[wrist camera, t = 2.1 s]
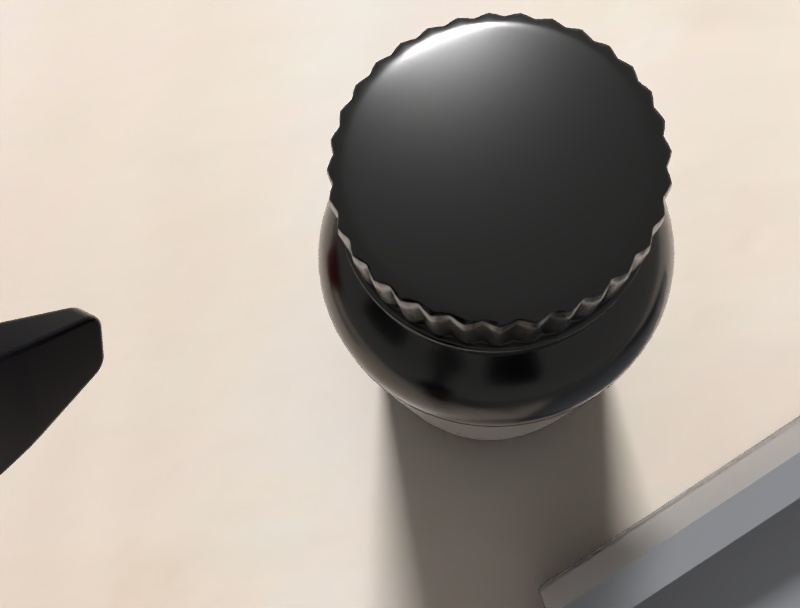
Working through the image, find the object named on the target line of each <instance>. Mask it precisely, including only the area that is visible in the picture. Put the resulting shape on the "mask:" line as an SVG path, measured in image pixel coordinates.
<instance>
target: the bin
mask: <svg viewBox="0 0 800 608" xmlns="http://www.w3.org/2000/svg"><path fill="white" fill-rule="evenodd" d="M538 588H539V591H540V594H541V596H542V599H543V602H544V604H545V607H546V608H800V416H799V417H798V418H796V419H795V420H793V421H791V422H790V423H788V424H787V425H785V426H784V427H782V428H781V429H779V430H778V431H776V432H775V433H773V434H772V435H770V436H769V437H767V438H766V439H764V440H763V441H761V442H759V443H758V444H756V445H755V446H753V447H752V448H750V449H749V450H747V451H746V452H744V453H743V454H741V455H740V456H738V457H737V458H735V459H734V460H732V461H731V462H729V463H727V464H726V465H724V466H723V467H721V468H720V469H718V470H717V471H715V472H714V473H712V474H711V475H709V476H708V477H706V478H705V479H703V480H702V481H700V482H698V483H697V484H695V485H694V486H692V487H691V488H689V489H688V490H686V491H685V492H683V493H682V494H680V495H679V496H677V497H676V498H674V499H673V500H671V501H670V502H668V503H666V504H665V505H663V506H662V507H660V508H659V509H657V510H656V511H654V512H653V513H651V514H650V515H648V516H647V517H645V518H644V519H642V520H641V521H639V522H638V523H636V524H634V525H633V526H631V527H630V528H628V529H627V530H625V531H624V532H622V533H621V534H619V535H618V536H616V537H615V538H613V539H612V540H610V541H609V542H607V543H606V544H604V545H602V546H601V547H599V548H598V549H596V550H595V551H593V552H592V553H590V554H589V555H587V556H586V557H584V558H583V559H581V560H580V561H578V562H577V563H575V564H573V565H572V566H570V567H569V568H567V569H566V570H564V571H563V572H561V573H560V574H558V575H557V576H555V577H554V578H552V579H551V580H549V581H548V582H546V583H545V584H543V585H541V586H540V587H538Z"/></svg>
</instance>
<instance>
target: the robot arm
mask: <svg viewBox="0 0 800 608" xmlns="http://www.w3.org/2000/svg"><path fill="white" fill-rule="evenodd" d="M103 358H104V354H103V342H102V330H101V323H100V321H99V319H98V318H97V317H95V316H93V315H91V314H89V313H87V312H85V311H83V310H81V309H78V308H67V309H62V310H57V311H53V312H48V313H43V314H39V315H34V316H29V317H25V318H20V319H15V320H11V321H6V322H1V323H0V475H1V474H2V473H3V472H4V471H5V470H6V469H7V468H9V467H10V466H11V465H12V464H13V463H14V462H15V461H16V460H17V459H18V458H19V457H20V456H21V455H22V454H23V453H24V452H25V451H27V450H28V449H29V448H30V447H31V446H32V445H33V443H34V442H35V441H36V440H37V439H38V438H39V437H40V436H41V435H42V434H43V433H44V432H45V431H46V429H47V428H48V427H49V426H50V425H51V424H52V423H53V422H54V420H55V419H56V418H57V417H58V416H59V415H60V414H61V413H62V411H63V410H64V409H65V408H66V407H67V406H68V405H69V404H70V403H71V401H72V400H73V399H74V398H75V397H76V396H77V395H78V394H79V392H80V391H81V390H82V389H83V388H84V387H85V386H86V385H87V383H88V382H89V381H90V380H91V379H92V378H93V377H94V376H95V374H96V373H97V372H98V370H99V369H100V367H101V365H102V363H103Z"/></svg>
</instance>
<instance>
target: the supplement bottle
mask: <svg viewBox="0 0 800 608" xmlns="http://www.w3.org/2000/svg"><path fill="white" fill-rule="evenodd" d="M664 129H665V120H664V119H663V117H662V116H661V115H660V113H659V112H658V111H657V110H656V109H655V108H654V104H653V96H652V92H651V91H650V90H649V89H648V88H647V87H646V86H644V85H642V84H641V83H640V82H639V81H638V78H637V75H636V73H635V70H634V68H633V66H631V65H629V64H627V63H626V62H624V61H622V60H620V59H618V58H617V56H616V55H615V53H614V52H613V50H612V49H611V47H610V46H608V45H606V44H603V43H599V42H596V41H593V40H592V39H591V38H590V37H589V36H588V35H587V34H586V33H585V32H584V31H583V30H581V29H575V28H566V27H564V26H563V25H561V24H560V23H558V22H557V21H555V20H553V19H534V18H531V17H529V16H527V15H524V14H522V13H519V14H513V15H508V16H501V15H497V14H492V13H487V14H484V15H482V16H480V17H477V18H475V19H469V18H457V19H455V20H453V21H451V22H450V23H449V24H447V25H446V26H442V27H434V28H428V29H426V30H425V31H424V32H423V33H422V34H421V35H420V36H419V37H418V38H416V39H413V40H409V41H406V42H403V43H400V44H399V46H398V47H397V48H396V49H395V50H394V52H393V53H392V55H390V56H388V57H386V58H384V59H382V60H380V61H378V62H376V64H375V65H374V67H373V69H372V72H371V74H370V75H369V76H368V77H366V78H365V79H363V80H362V81H361V82H359V83H358V84H357V85H356V86H355V89H354V92H353V97H352V100H351V101H350V102H349V103H348V104H347V105H345V107H344V108H343V109H342V110H341V111H340V127H339V128H338V130H337V131H336V132H335V133H334V135H333V137H332V139H331V147H332V153H333V156H332V158H331V160H330V163H329V166H328V168H327V174H328V177H329V180H330V182H331V185H332V189H331V191H330V198H329V201H328V203H327V206H326V210H325V213H324V217H323V220H322V226H321V231H320V239H319V274H320V282H321V288H322V292H323V296H324V301H325V304H326V307H327V310H328V313H329V316H330V318H331V320H332V322H333V324H334V327H335V329H336V331H337V333H338V334H339V336H340V338H341V340H342V341H343V343H344V345H345V346H346V348H347V349H348V351H349V352H350V353H351V355H352V356H353V357H354V359H355V360H356V362H357V363H358V364H359V365H360V366H361V367H362V368H363V370H364V371H365V372H366V373H367V374H368V375H369V376H370V377H371V378H372V379H373V380H374V381H375V382H377V383H378V384H379V385H380V386H381V387H382V388H383V389H384V390H386V391H387V392H388V393H389V394H391V395H392V396H393V397H395V398H396V399H397V400H398V401H400V402H401V403H402V404H403V405H405V406H406V407H407V408H409V409H410V410H411V411H412V412H414V413H415V414H416V415H418V416H419V417H420V418H422V419H423V420H425V421H426V422H428V423H430V424H431V425H433V426H435V427H437V428H439V429H441V430H444V431H446V432H448V433H451V434H454V435H457V436H461V437H465V438H470V439H477V440H503V439H509V438H515V437H519V436H522V435H526V434H529V433H531V432H534V431H537V430H539V429H541V428H543V427H545V426H547V425H549V424H551V423H553V422H554V421H556V420H558V419H559V418H561V417H563V416H564V415H566V414H568V413H570V412H571V411H573V410H575V409H576V408H578V407H580V406H581V405H583V404H585V403H586V402H588V401H589V400H591V399H593V398H594V397H596V396H597V395H599V394H600V393H601V392H603V391H604V390H605V389H606V388H608V387H609V386H610V385H612V384H613V383H614V382H615V381H616V380H617V379H618V378H619V377H620V376H621V375H622V374H623V373H624V372H625V371H626V370H627V369H628V368H629V367H630V366H631V364H632V363H633V362H634V361H635V360H636V358H637V357H638V356H639V355H640V354H641V352H642V351H643V349H644V348H645V346H646V345H647V343H648V342H649V341H650V339H651V337H652V335H653V333H654V332H655V330H656V328H657V326H658V324H659V322H660V319H661V317H662V314H663V312H664V309H665V307H666V303H667V300H668V296H669V293H670V288H671V282H672V276H673V267H674V240H673V232H672V226H671V220H670V216H669V212H668V209H667V205H666V202H665V198H666V197H667V195H668V193H669V191H670V189H671V186H672V182H671V178H670V175H669V173H668V170H667V166H668V164H669V161H670V157H671V153H672V151H671V149H670V147H669V145H668V143H667V142H666V140H665V138H664V136H663V135H664Z"/></svg>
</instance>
